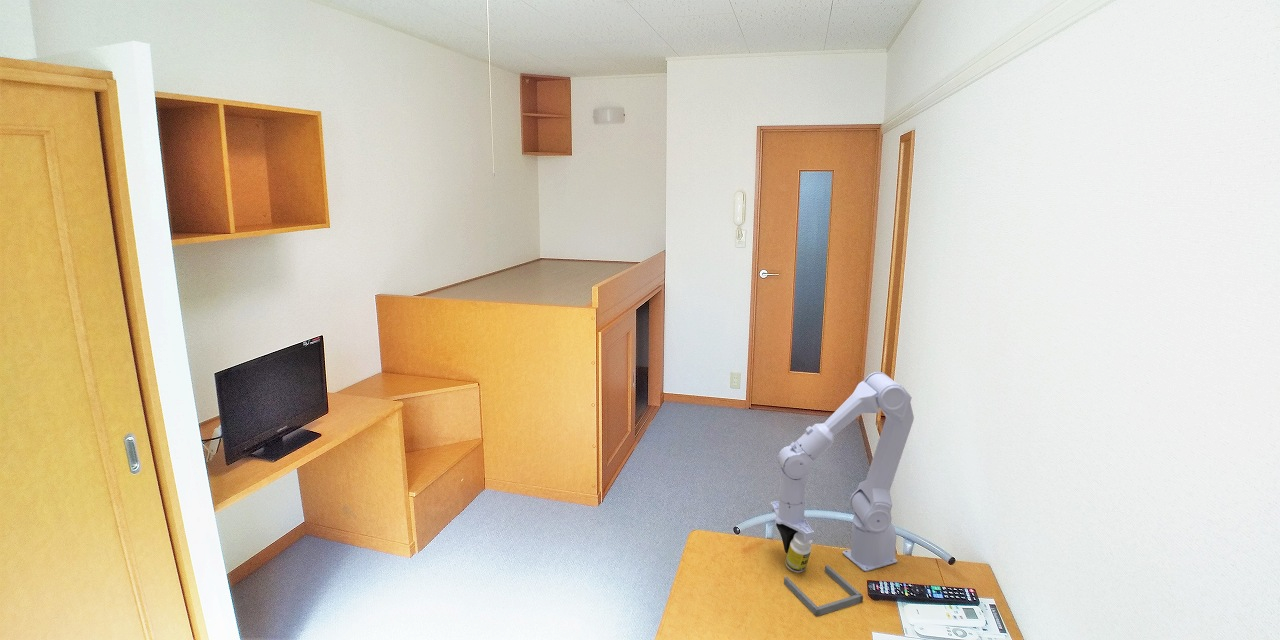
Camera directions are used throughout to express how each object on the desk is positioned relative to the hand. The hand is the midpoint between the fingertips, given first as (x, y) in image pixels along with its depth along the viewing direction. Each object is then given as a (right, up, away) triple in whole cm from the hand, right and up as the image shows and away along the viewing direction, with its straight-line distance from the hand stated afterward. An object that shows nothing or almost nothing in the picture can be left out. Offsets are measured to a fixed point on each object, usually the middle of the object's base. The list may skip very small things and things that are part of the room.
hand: (789, 552), depth 146 cm
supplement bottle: (+1, -2, -2) cm, 3 cm away
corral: (+4, -5, -10) cm, 12 cm away
